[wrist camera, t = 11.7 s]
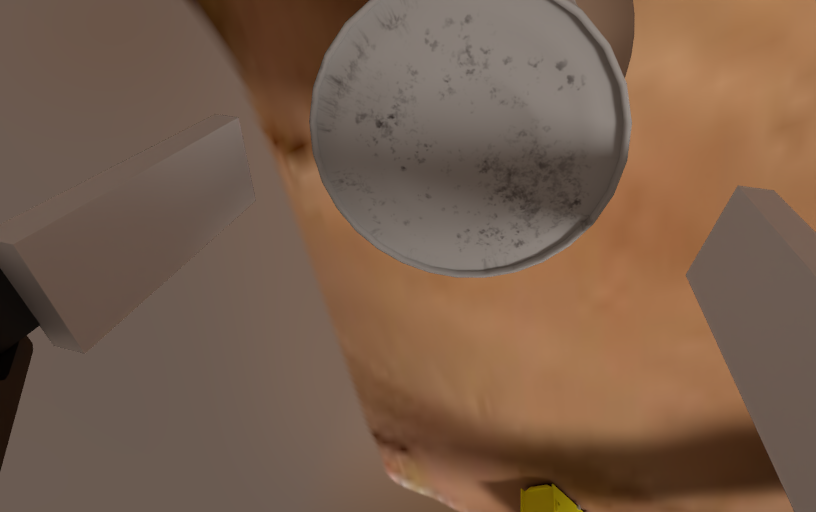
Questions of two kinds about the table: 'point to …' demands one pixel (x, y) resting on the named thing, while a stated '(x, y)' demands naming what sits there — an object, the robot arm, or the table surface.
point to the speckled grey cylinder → (470, 130)
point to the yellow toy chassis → (546, 500)
